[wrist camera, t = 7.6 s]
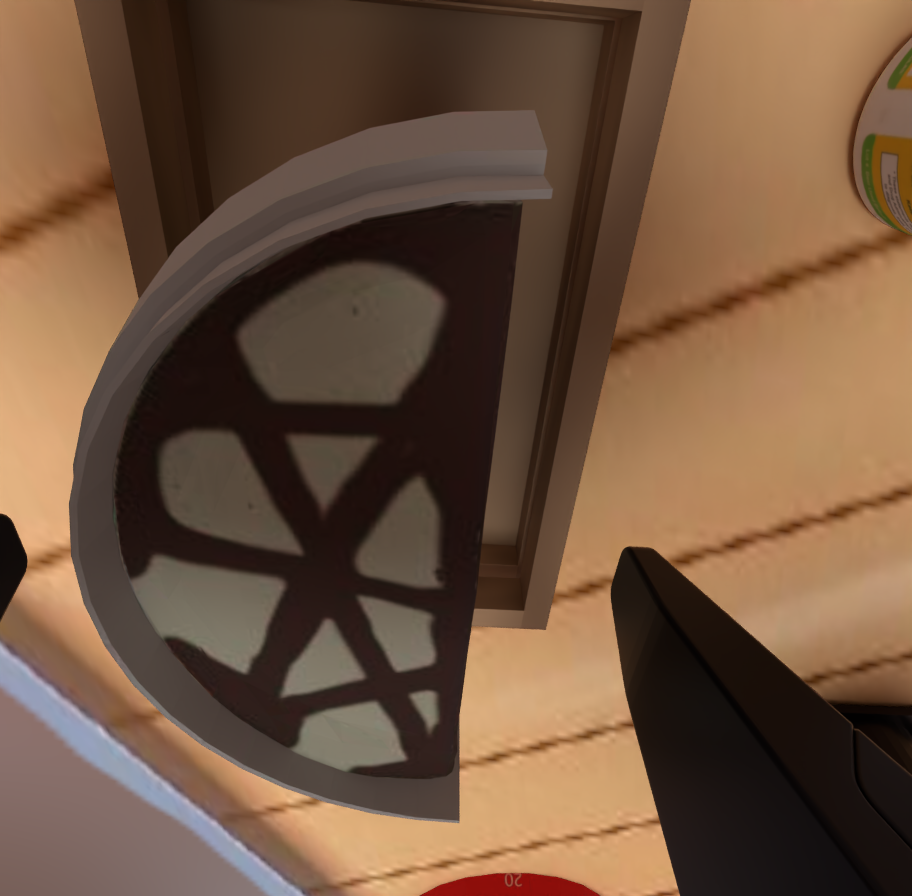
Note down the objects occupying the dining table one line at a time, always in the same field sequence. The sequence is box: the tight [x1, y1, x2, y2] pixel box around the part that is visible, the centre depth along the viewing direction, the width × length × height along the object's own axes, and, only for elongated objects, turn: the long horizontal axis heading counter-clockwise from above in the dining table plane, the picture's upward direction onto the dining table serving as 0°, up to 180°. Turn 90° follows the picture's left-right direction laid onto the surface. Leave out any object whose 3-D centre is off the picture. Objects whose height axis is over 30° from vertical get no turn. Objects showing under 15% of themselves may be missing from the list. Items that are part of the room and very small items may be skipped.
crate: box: [74, 0, 691, 630], centre depth 16 cm, size 11×17×4 cm, turn 176°
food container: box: [69, 110, 553, 823], centre depth 12 cm, size 12×6×10 cm, turn 176°
